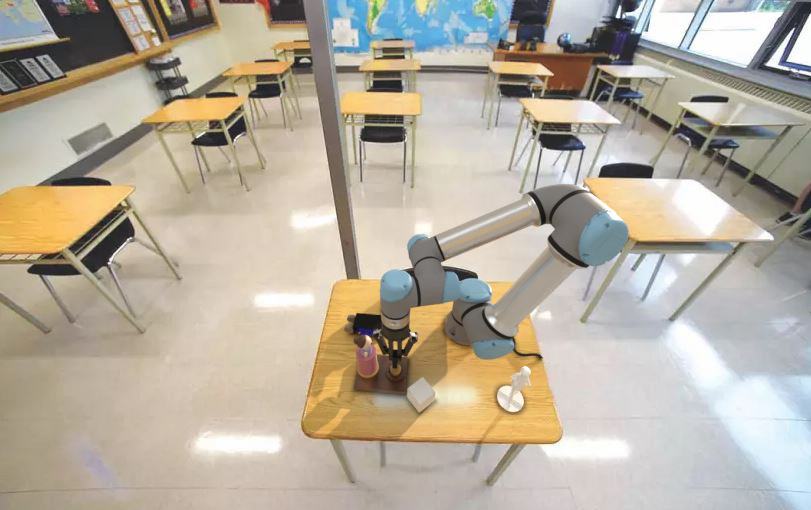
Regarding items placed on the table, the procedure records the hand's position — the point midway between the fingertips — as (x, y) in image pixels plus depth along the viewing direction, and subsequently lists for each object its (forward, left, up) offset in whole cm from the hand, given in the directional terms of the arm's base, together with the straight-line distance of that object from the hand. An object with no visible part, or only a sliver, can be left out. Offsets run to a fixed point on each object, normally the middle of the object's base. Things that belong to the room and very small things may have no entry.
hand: (395, 364), depth 99 cm
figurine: (-37, +4, -8) cm, 38 cm away
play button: (0, 0, -4) cm, 4 cm away
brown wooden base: (+4, 0, -7) cm, 9 cm away
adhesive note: (-9, +7, -8) cm, 13 cm away
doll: (+9, 0, -4) cm, 10 cm away
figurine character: (+12, -16, -8) cm, 22 cm away
